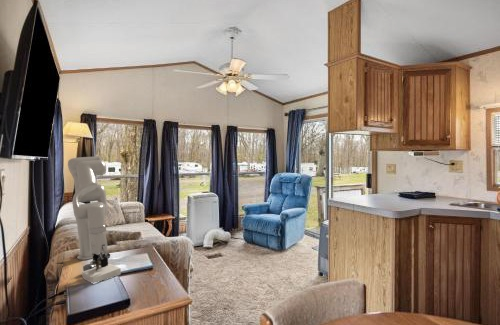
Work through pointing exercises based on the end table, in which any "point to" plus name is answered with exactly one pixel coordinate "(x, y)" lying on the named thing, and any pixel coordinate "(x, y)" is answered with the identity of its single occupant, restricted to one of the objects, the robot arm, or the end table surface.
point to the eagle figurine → (98, 262)
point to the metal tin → (88, 267)
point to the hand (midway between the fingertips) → (100, 264)
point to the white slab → (101, 273)
